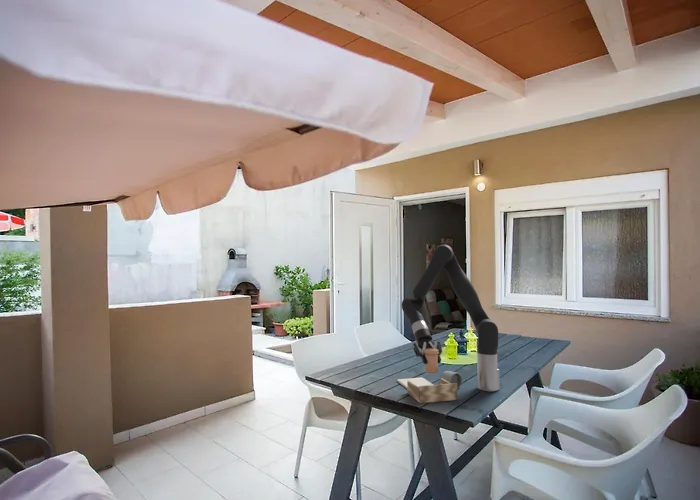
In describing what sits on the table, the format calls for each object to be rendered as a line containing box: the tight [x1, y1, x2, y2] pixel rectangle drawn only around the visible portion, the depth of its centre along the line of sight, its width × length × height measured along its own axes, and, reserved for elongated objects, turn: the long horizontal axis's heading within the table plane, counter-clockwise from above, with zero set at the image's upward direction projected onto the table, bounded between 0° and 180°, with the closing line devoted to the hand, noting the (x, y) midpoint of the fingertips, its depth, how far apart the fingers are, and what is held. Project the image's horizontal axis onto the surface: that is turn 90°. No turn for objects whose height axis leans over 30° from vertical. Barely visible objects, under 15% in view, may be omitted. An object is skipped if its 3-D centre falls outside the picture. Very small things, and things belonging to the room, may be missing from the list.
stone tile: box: [397, 377, 434, 390], centre depth 197 cm, size 14×14×1 cm
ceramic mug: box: [438, 370, 463, 390], centre depth 193 cm, size 11×8×8 cm
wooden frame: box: [406, 377, 458, 404], centre depth 180 cm, size 18×14×7 cm
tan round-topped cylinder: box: [424, 347, 439, 374], centre depth 181 cm, size 7×7×10 cm
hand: (432, 362), depth 179 cm, fingers closed on tan round-topped cylinder, 6 cm apart
